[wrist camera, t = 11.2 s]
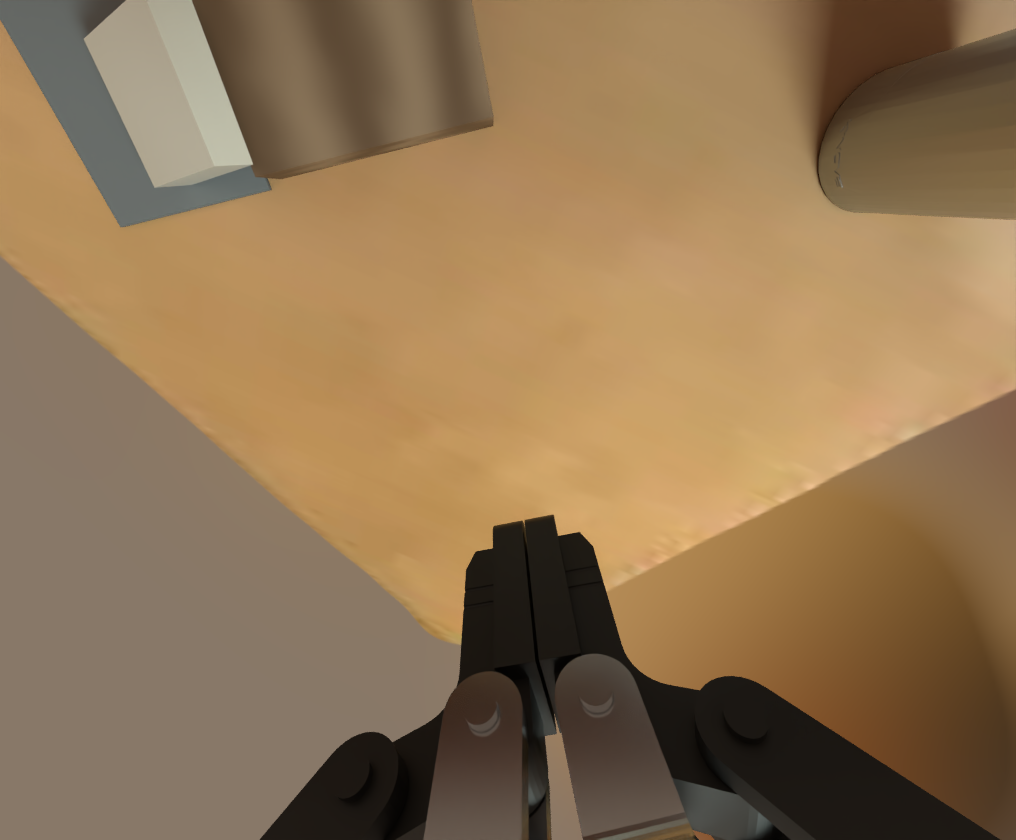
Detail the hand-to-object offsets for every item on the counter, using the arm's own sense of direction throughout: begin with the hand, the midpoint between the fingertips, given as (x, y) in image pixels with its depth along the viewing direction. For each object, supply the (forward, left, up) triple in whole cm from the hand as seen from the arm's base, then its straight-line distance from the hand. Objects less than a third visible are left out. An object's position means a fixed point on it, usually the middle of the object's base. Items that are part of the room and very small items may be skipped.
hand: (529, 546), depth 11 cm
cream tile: (+17, -17, -27) cm, 36 cm away
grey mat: (+21, -19, -29) cm, 41 cm away
